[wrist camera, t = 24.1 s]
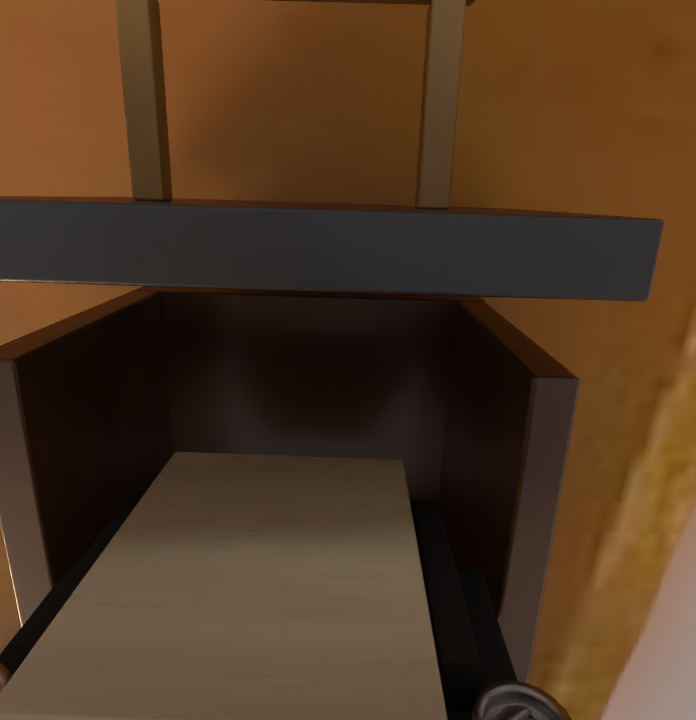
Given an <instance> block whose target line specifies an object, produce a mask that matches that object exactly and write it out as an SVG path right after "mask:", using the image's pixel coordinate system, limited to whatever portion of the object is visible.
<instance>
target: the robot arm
mask: <svg viewBox="0 0 696 720" xmlns="http://www.w3.org/2000/svg"><path fill="white" fill-rule="evenodd" d="M147 490H148V489H136V490H134V491H133V492H132V493H131V494H130V496H129V497H128V498H127V500H126V501H125V502H124V503H123V505H122V506H121V507H120V509H119V510H118V511H117V513H116V514H115V515H114V516H113V518H112V519H111V520H110V522H109V523H108V524H107V525H106V527H105V528H104V529H103V531H102V532H101V533H100V535H99V536H98V537H97V538H96V540H95V541H94V542H93V544H92V545H91V546H90V548H89V549H88V550H87V551H86V552H85V553H82V554H80V555H79V556H78V557H77V558H76V559H75V560H74V561H73V563H72V564H71V565H70V566H69V568H68V569H67V570H66V571H65V573H64V574H63V575H62V577H61V578H60V579H59V580H58V582H57V583H56V584H55V585H54V587H53V588H52V589H51V591H50V592H49V593H48V594H47V596H46V597H45V598H44V599H43V601H42V602H41V603H40V604H39V606H38V607H37V608H36V610H35V611H34V612H33V613H32V615H31V616H30V617H29V618H28V620H27V621H26V622H25V624H24V625H23V626H22V627H21V629H20V630H19V631H18V632H17V634H16V635H15V636H14V638H13V639H12V640H11V641H10V643H9V644H8V645H7V646H6V648H5V649H4V650H3V652H2V653H1V654H0V693H1V691H2V690H3V688H4V687H5V686H6V684H7V683H8V682H9V680H10V679H11V677H12V676H13V675H14V673H15V672H16V670H17V669H18V668H19V666H20V665H21V664H22V662H23V661H24V659H25V658H26V657H27V655H28V654H29V653H30V651H31V650H32V648H33V647H34V646H35V644H36V643H37V642H38V640H39V639H40V637H41V636H42V635H43V633H44V632H45V630H46V629H47V628H48V626H49V625H50V624H51V622H52V621H53V619H54V618H55V617H56V615H57V614H58V613H59V611H60V610H61V608H62V607H63V606H64V604H65V603H66V601H67V600H68V599H69V597H70V596H71V595H72V593H73V592H74V590H75V589H76V588H77V586H78V585H79V584H80V582H81V581H82V579H83V578H84V577H85V575H86V574H87V573H88V571H89V570H90V568H91V567H92V566H93V564H94V563H95V561H96V560H97V559H98V557H99V556H100V555H101V553H102V552H103V550H104V549H105V548H106V546H107V545H108V544H109V542H110V541H111V539H112V538H113V537H114V535H115V534H116V532H117V531H118V530H119V528H120V527H121V526H122V524H123V523H124V521H125V520H126V519H127V517H128V516H129V515H130V513H131V512H132V510H133V509H134V508H135V506H136V505H137V504H138V502H139V501H140V499H141V498H142V497H143V495H144V494H145V492H146V491H147ZM410 504H411V509H412V515H413V521H414V527H415V533H416V539H417V544H418V550H419V556H420V562H421V568H422V573H423V579H424V585H425V591H426V597H427V603H428V608H429V614H430V620H431V626H432V632H433V637H434V643H435V649H436V655H437V661H438V666H439V672H440V678H441V684H442V690H443V696H444V701H445V707H446V713H447V719H448V720H572V719H571V718H570V716H569V714H568V713H567V711H566V710H565V709H564V708H563V707H562V706H561V705H560V704H559V703H558V702H557V701H556V700H555V699H554V698H553V697H552V696H550V695H549V694H547V693H546V692H544V691H543V690H541V689H540V688H538V687H536V686H533V685H530V684H528V683H525V682H522V681H518V680H517V677H516V674H515V671H514V668H513V665H512V662H511V659H510V656H509V653H508V650H507V647H506V644H505V641H504V638H503V635H502V632H501V629H500V625H499V622H498V619H497V616H496V613H495V610H494V607H493V604H492V601H491V598H490V595H489V592H488V589H487V586H486V583H485V580H484V577H483V574H482V572H481V570H480V568H479V567H469V566H455V562H454V558H453V554H452V551H451V547H450V543H449V539H448V535H447V532H446V528H445V524H444V520H443V516H442V513H441V509H440V505H439V502H438V500H429V499H411V502H410Z"/></svg>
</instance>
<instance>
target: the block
mask: <svg viewBox="0 0 696 720" xmlns="http://www.w3.org/2000/svg"><path fill="white" fill-rule="evenodd" d="M0 720H448V719H447V713H446V707H445V701H444V696H443V690H442V684H441V678H440V672H439V666H438V661H437V655H436V649H435V643H434V637H433V632H432V626H431V620H430V614H429V608H428V603H427V597H426V591H425V585H424V579H423V573H422V568H421V562H420V556H419V550H418V544H417V539H416V533H415V527H414V521H413V515H412V509H411V504H410V498H409V492H408V486H407V480H406V475H405V469H404V463H403V461H402V460H400V459H371V458H343V457H314V456H285V455H256V454H227V453H198V452H175V453H174V454H173V455H172V457H171V458H170V459H169V461H168V462H167V463H166V465H165V466H164V468H163V469H162V470H161V472H160V473H159V475H158V476H157V477H156V479H155V480H154V481H153V483H152V484H151V486H150V487H149V488H148V490H147V491H146V492H145V494H144V495H143V497H142V498H141V499H140V501H139V502H138V504H137V505H136V506H135V508H134V509H133V510H132V512H131V513H130V515H129V516H128V517H127V519H126V520H125V521H124V523H123V524H122V526H121V527H120V528H119V530H118V531H117V532H116V534H115V535H114V537H113V538H112V539H111V541H110V542H109V544H108V545H107V546H106V548H105V549H104V550H103V552H102V553H101V555H100V556H99V557H98V559H97V560H96V561H95V563H94V564H93V566H92V567H91V568H90V570H89V571H88V573H87V574H86V575H85V577H84V578H83V579H82V581H81V582H80V584H79V585H78V586H77V588H76V589H75V590H74V592H73V593H72V595H71V596H70V597H69V599H68V600H67V601H66V603H65V604H64V606H63V607H62V608H61V610H60V611H59V613H58V614H57V615H56V617H55V618H54V619H53V621H52V622H51V624H50V625H49V626H48V628H47V629H46V630H45V632H44V633H43V635H42V636H41V637H40V639H39V640H38V642H37V643H36V644H35V646H34V647H33V648H32V650H31V651H30V653H29V654H28V655H27V657H26V658H25V659H24V661H23V662H22V664H21V665H20V666H19V668H18V669H17V670H16V672H15V673H14V675H13V676H12V677H11V679H10V680H9V682H8V683H7V684H6V686H5V687H4V688H3V690H2V691H1V693H0Z"/></svg>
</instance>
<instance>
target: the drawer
mask: <svg viewBox="0 0 696 720" xmlns="http://www.w3.org/2000/svg"><path fill="white" fill-rule="evenodd" d="M272 1H309V2H346V3H382V4H419V5H430V6H429V9H428V12H427V27H426V43H425V58H424V74H423V89H422V105H421V120H420V136H419V151H418V167H417V182H416V198H415V206H403V205H370V204H337V203H303V202H270V201H236V200H203V199H172V184H171V169H170V155H169V141H168V127H167V112H166V98H165V84H164V69H163V55H162V41H161V27H160V12H159V3H158V1H157V0H115V6H116V17H117V28H118V39H119V50H120V61H121V72H122V83H123V93H124V104H125V115H126V126H127V137H128V148H129V159H130V170H131V180H132V191H133V197H37V196H0V282H32V283H64V284H97V285H129V286H143V287H141V288H138V289H136V290H133V291H131V292H129V293H126V294H124V295H121V296H119V297H117V298H114V299H112V300H109V301H107V302H105V303H102V304H100V305H97V306H95V307H92V308H90V309H88V310H85V311H83V312H80V313H78V314H76V315H73V316H71V317H68V318H66V319H64V320H61V321H59V322H56V323H54V324H51V325H49V326H47V327H44V328H42V329H39V330H37V331H35V332H32V333H30V334H27V335H25V336H22V337H20V338H18V339H15V340H13V341H10V342H8V343H6V344H3V345H1V346H0V525H1V530H2V535H3V540H4V545H5V550H6V555H7V560H8V565H9V570H10V575H11V580H12V585H13V590H14V594H15V599H16V604H17V609H18V614H19V619H20V624H21V627H22V626H23V625H24V624H25V622H26V621H27V620H28V618H29V617H30V616H31V615H32V613H33V612H34V611H35V610H36V608H37V607H38V606H39V604H40V603H41V602H42V601H43V599H44V598H45V597H46V596H47V594H48V593H49V592H50V591H51V589H52V588H53V587H54V585H55V584H56V583H57V582H58V580H59V579H60V578H61V577H62V575H63V574H64V573H65V571H66V570H67V569H68V568H69V566H70V565H71V564H72V563H73V561H74V560H75V559H76V558H77V557H78V556H79V555H80V554H82V553H85V552H86V551H87V550H88V549H89V548H90V546H91V545H92V544H93V542H94V541H95V540H96V538H97V537H98V536H99V535H100V533H101V532H102V531H103V529H104V528H105V527H106V525H107V524H108V523H109V522H110V520H111V519H112V518H113V516H114V515H115V514H116V513H117V511H118V510H119V509H120V507H121V506H122V505H123V503H124V502H125V501H126V500H127V498H128V497H129V496H130V494H131V493H132V492H133V491H134V490H136V489H148V488H149V487H150V486H151V484H152V483H153V481H154V480H155V479H156V477H157V476H158V475H159V473H160V472H161V470H162V469H163V468H164V466H165V465H166V463H167V462H168V461H169V459H170V458H171V457H172V455H173V454H174V453H175V452H198V453H227V454H256V455H285V456H314V457H343V458H371V459H400V460H402V461H403V463H404V469H405V475H406V480H407V486H408V492H409V498H410V502H411V499H429V500H438V502H439V505H440V509H441V513H442V516H443V520H444V524H445V528H446V532H447V535H448V539H449V543H450V547H451V551H452V554H453V558H454V562H455V566H469V567H479V568H480V570H481V572H482V574H483V577H484V580H485V583H486V586H487V589H488V592H489V595H490V598H491V601H492V604H493V607H494V610H495V613H496V616H497V619H498V622H499V625H500V629H501V632H502V635H503V638H504V641H505V644H506V647H507V650H508V653H509V656H510V659H511V662H512V665H513V668H514V671H515V674H516V677H517V680H518V681H522V682H525V683H528V677H529V672H530V666H531V660H532V654H533V649H534V643H535V637H536V631H537V626H538V620H539V614H540V608H541V602H542V597H543V591H544V585H545V579H546V574H547V568H548V562H549V556H550V550H551V545H552V539H553V533H554V527H555V522H556V516H557V510H558V504H559V498H560V493H561V487H562V481H563V475H564V470H565V464H566V458H567V452H568V446H569V441H570V435H571V429H572V423H573V418H574V412H575V406H576V400H577V394H578V389H579V378H578V377H576V376H575V375H574V374H573V373H572V372H570V371H569V370H568V369H567V368H565V367H564V366H563V365H562V364H560V363H559V362H558V361H557V360H556V359H554V358H553V357H552V356H551V355H549V354H548V353H547V352H546V351H544V350H543V349H542V348H541V347H539V346H538V345H537V344H536V343H535V342H533V341H532V340H531V339H530V338H528V337H527V336H526V335H525V334H523V333H522V332H521V331H520V330H519V329H517V328H516V327H515V326H514V325H512V324H511V323H510V322H509V321H507V320H506V319H505V318H504V317H503V316H501V315H500V314H499V313H498V312H496V311H495V310H494V309H493V308H491V307H490V306H489V305H488V304H487V303H485V301H484V300H482V299H481V298H480V297H477V296H482V297H514V298H546V299H579V300H611V301H646V300H648V298H649V294H650V289H651V284H652V279H653V274H654V269H655V264H656V259H657V255H658V250H659V245H660V240H661V235H662V230H663V225H664V222H663V220H661V219H651V218H637V217H623V216H608V215H594V214H579V213H565V212H550V211H536V210H521V209H504V208H470V207H449V200H450V188H451V176H452V164H453V152H454V140H455V128H456V116H457V104H458V92H459V80H460V68H461V56H462V44H463V32H464V20H465V8H466V6H469V5H472V4H473V3H474V1H475V0H272ZM155 286H161V287H155ZM188 287H193V288H188ZM220 288H225V289H220ZM252 289H257V290H252ZM284 290H289V291H284ZM316 291H321V292H316ZM348 292H354V293H348ZM380 293H386V294H380ZM413 294H418V295H413ZM445 295H450V296H445Z"/></svg>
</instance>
